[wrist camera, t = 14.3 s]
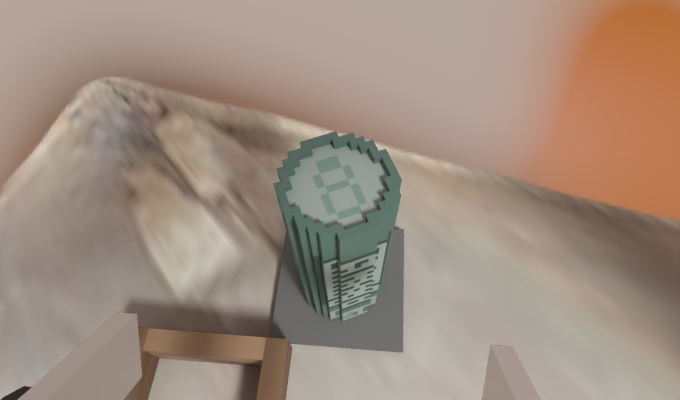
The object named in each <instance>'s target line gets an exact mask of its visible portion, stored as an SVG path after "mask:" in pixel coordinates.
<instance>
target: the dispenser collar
mask: <svg viewBox="0 0 680 400" xmlns="http://www.w3.org/2000/svg"><path fill="white" fill-rule="evenodd" d="M138 332H139V345H140V357H141V369H142V377H141V379H140V380H139V381H138V382H137V384H136V385H135V386H134V387H133V389H132V390H131V391H130V392H129V394H128V395H127V396H126V397H125V399H124V400H148V397H149V393H150V390H151V386H152V382H153V379H154V375H155V371H156V368H157V364H158V360H159V358H165V359H178V360H190V361H202V362H214V363H226V364H238V365H250V366H261V372H260V378H259V384H258V391H257V397H256V400H285V399H286V391H287V383H288V376H289V368H290V360H291V353H292V347H291V345H290V343H289V341H288V339H280V338H267V337H255V336H242V335H229V334H217V333H204V332H191V331H179V330H166V329H153V328H140V327H138Z"/></svg>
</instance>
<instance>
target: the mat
mask: <svg viewBox="0 0 680 400" xmlns="http://www.w3.org/2000/svg"><path fill="white" fill-rule="evenodd" d="M403 268H404V229H394V231H393V235H392V240H391V245H390V250H389V254H388V259H387V264H386V268H385V273H384V278H383V283H382V287H381V292H379V295H378V298H377V299H376V302H375V305H372V306H370V307H368V312H367V313H366V314H363V315H361V316H358V317H355V318H353V319H350V320H347V321H345V322H342V319H341V317H340V318H337V319H335V320H332V321H331V319H330V317H329V316H328V317H325V318H324V316H323V313H321V314H317V311H316V308H315V306H314V305H313V306H310V307H309V304H308V301H307V298H306V295H305V292H304V289H303V286H302V283H301V280H300V276H299V272H298V269H297V265H296V262H295V258H294V255H293V251H292V247H291V244H290V240H289V237H288V233H287V231H286V237H285V244H284V250H283V256H282V263H281V269H280V276H279V282H278V288H277V295H276V301H275V307H274V314H273V320H272V327H271V333H270V338H280V339H288V341H289V343H290V344H303V345H316V346H328V347H341V348H353V349H366V350H379V351H391V352H403Z"/></svg>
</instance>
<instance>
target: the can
mask: <svg viewBox="0 0 680 400" xmlns="http://www.w3.org/2000/svg"><path fill="white" fill-rule="evenodd" d="M300 144H301V148H300V149H297V150H293V151H290V152H288V156H289V159H286V160H282V161H283V165H284V167H281V168H278V169H277V171H278V175H279V179H280V182H278V183H275V184H274V187H275V190H276V194H277V197H278V201H279V205H280V208H281V212H282V215H283V219H284V222H285V226H286V230H287V233H288V237H289V240H290V244H291V247H292V251H293V255H294V258H295V262H296V265H297V269H298V272H299V276H300V280H301V283H302V286H303V289H304V292H305V295H306V298H307V301H308V304H309V307H310V306H313V305H314V306H315V308H316V311H317V314H321V313H323V316H324V318H325V317H328V316H329V317H330V319H331V321H332V320H335V319H337V318H340V317H341V319H342V322H345V321H347V320H350V319H353V318H355V317H358V316H361V315H363V314H366V313H367V312H368V307H370V306H372V305H375V302H376V299H377V298H378V295H379V292H381V287H382V283H383V278H384V273H385V268H386V264H387V259H388V254H389V250H390V245H391V240H392V235H393V231H394V226H395V221H396V216H397V212H398V207H399V202H400V197H401V194H400V192H399V191H400V186H401V181H402V179H401V177H400V175H399V173H398V171H397V169H396V168H395V166H394V164H393V162H392V160H391V158H390V156H389V154H388V152H387V150H386V149H384V150H381V151H378V149H377V147H376V145H375V143H374V141H373V140H370V141H367V142H365V140H364V138H363V136H362V137H358V138H355V136H354V134H353V133H350V134H347V135H343V136H340V137H339V136H338V134H337V132H332V133H329V134H326V135H322V136H319V137H315V138H312V139H309V140H305V141H302V142H300Z"/></svg>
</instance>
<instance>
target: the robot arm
mask: <svg viewBox="0 0 680 400" xmlns="http://www.w3.org/2000/svg"><path fill="white" fill-rule="evenodd" d="M141 377H142V369H141V357H140V345H139V332H138V320H137V314H132V313H121V312H117V313H116V314H115V315H114V316H113V317H111V318H110V319H109V320H108V321H107V322H106V323H105V324H103V325H102V326H101V327H100V328H99V329H98V330H97V331H95V332H94V333H93V334H92V335H91V336H90V337H89V338H87V339H86V340H85V341H84V342H83V343H82V344H81V345H79V346H78V347H77V348H76V349H75V350H74V351H73V352H71V353H70V354H69V355H68V356H67V357H66V358H65V359H63V360H62V361H61V362H60V363H59V364H58V365H57V366H55V367H54V368H53V369H52V370H51V371H50V372H49V373H47V374H46V375H45V376H44V377H43V378H42V379H41V380H39V381H38V382H37V383H36V384H35V385H34V386H33V387H26V386H23V387H22V388H20V389H18V390H16V391H14V392H12V393H11V394H9V395H7V396H5V397H3V398H2V399H1V400H124V399H125V397H126V396H127V395H128V394H129V392H130V391H131V390H132V389H133V387H134V386H135V385H136V384H137V382H138V381H139V380H140V379H141ZM482 400H541V399H540V397H539V395H538V394H537V392H536V390H535V388H534V386H533V384H532V382H531V380H530V378H529V377H528V375H527V373H526V371H525V369H524V367H523V365H522V363H521V361H520V360H519V358H518V356H517V354H516V352H515V350H514V348H513V346H502V345H491V346H490V352H489V359H488V365H487V371H486V378H485V384H484V390H483V397H482Z"/></svg>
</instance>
